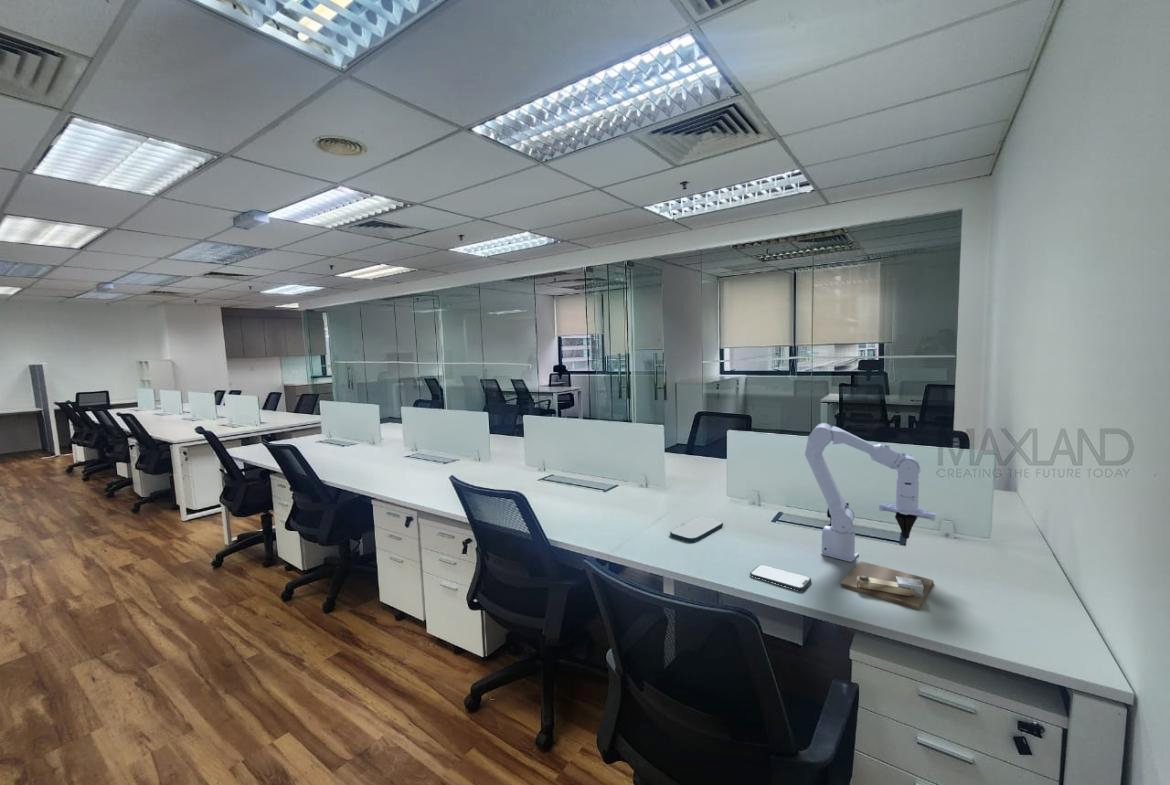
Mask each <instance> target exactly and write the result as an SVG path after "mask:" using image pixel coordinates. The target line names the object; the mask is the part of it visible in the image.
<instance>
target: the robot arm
mask: <svg viewBox="0 0 1170 785" xmlns="http://www.w3.org/2000/svg"><path fill="white" fill-rule="evenodd" d="M831 442H832V445H840V444H844V445H847V446H849V447H851V448H854V449H856V450H859V451H861V452H864V453H865V454H868V455H869V456H870V459H871V460H872V461H875V462H876V463H878V464H880V465H883V466H885V467H888V468H889V469H891V470H896V471H897V479H896V489H895V490H896V491H895V504H891V503H883V502H880V504H878V508H879V510H878V511H880V512H889V513H894V514H895V515H894V518H895V520H896V522H897V524H898V526H899V528H900V532H901V536H902V538H903V539H907V540H909V538H910V536H911V532H912V528H913V526H914V524H915V523H916V520H918V518H920V519H927V520H929V521H933V522H935V521H936V519H937V518H936V517H937V516H936V515H937V513H936V512H933V511H928V510H924V509H921V508H919V492H920V491H919V490H920V489H919V486H920V481H919V477H920V475H919V474H920V473H921V468H920V462H919V460H918V459H917V458H916V457H915V456H914V455H912V454H910V453H909V454H906V452H904V451H902V452H901V451H899V450H897V449H894V448H891V447H890V444H888V443H884V444H883V443H877V444H873V443H871V442H869V441H867V440H865V439H862V438H860V437H859V436H857V435H855V434H852V433H851V432H849V431H846V430H844V429H843V428H840V427H838V426H834V425H833V426H832V424H828V423H826V422H821V423H818V424H817V425H816V426H815V427H814V429H813V430H812V431H811V433H809V435H808V436H807V442H806V447H805V452H804V455H805V458H806V460H807V462H808V464H809V466H810V469H811V471H812V473H813V475H814V477H815V480H816V482H817V484H818V487H819V489H820V490H821V493H822V495H823V497H824V499H825V502H826V504H827V510H828V509H829V513H830V515H831V526H830V525H824V527H823V529H822V534H821V552H820V554H821V555H823V556H826V557H830V558H834V559H837V560H838V559H839V560H841V561H845V562H850V563H851V562H853V561H854V560H855V559H856V558H857V557H858V556H859V555H860V554H859V552H858V551H857V552H856V551H855V548H856V546H855V545H856V542H855V541H856V528H855V527H854V520H855V512H854V510H853V509H851V507H850V506H849V507H848V506H847V504H846V503H847V502H846V500H845V499H844V498H843V497H842V495H841V493H840V489H838V486H837V484H836V482H835V479H834V477H833V476H832V472H831V471H830V468H829V466H828V465H827V462H826V460H825V458H824V455H823V452H824V451H825V448H827V447H828V445H830V443H831Z"/></svg>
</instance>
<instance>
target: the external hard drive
mask: <svg viewBox="0 0 1170 785" xmlns="http://www.w3.org/2000/svg"><path fill="white" fill-rule="evenodd" d="M723 522H724V521H723V520H721V519H717V518H713V517H709V516H702V515H701V516H697V517H695V518H693V519H690V520H688V521H686V522H684V523H682V524H680V525H679V526H676V527H674V528H672V529H671V530H670V533H669V535H670V538H673V539H676V538H677V539H676V540H679V539H680V540H679V541H682V540H684V541H683V542H686V541H689V542H688V543H695V542H694V541H697V542H698V540H699V541H701V540H702V539H704V538H706V537H707V535H708V536H709V534H710V535H711V534H713V533H715V532H717V531H718V530H720V529H721V527H722V526H724V523H723ZM722 528H723V527H722ZM716 530H717V531H716ZM714 531H715V532H714ZM712 532H713V533H712ZM705 536H706V537H705ZM700 539H701V540H700Z"/></svg>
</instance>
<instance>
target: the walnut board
mask: <svg viewBox="0 0 1170 785" xmlns="http://www.w3.org/2000/svg"><path fill="white" fill-rule="evenodd" d="M861 575H863V576H867V577H869V578H875V579H881V580H887V581H892V582H897V581H896V576H898V577H905V578H912V579H919V580H921V582H922V584H923V587H924V590H923V598H921V597H915V596H913V593H912V588H911V596H906V595H900V594H895V593H889V592H884V591H878V590H872V589H864V588H861V587H858V586H857V577H858V576H861ZM933 585H934V579H930V578H928V577H923V576H919V575H916V574H911V573H908V572H904V571H900V570H896V569H892V568H888V567H884V566H881V565H877V564H874V563H870V562H866V561H862V560H861V561H859V563H858V564H857V565H856V566H855V567H854V568H853V569H852V570H851V571H850V573H849V574H847V576H846V577H845V578H844V579H843V580H842V581H841V582H840V587H841V586H842V588H845V589H847V590H848V589H849V590H853V591H854V592H855V591H856V592H858V593H862V594H866V595H868V596H871V597H875V598H878V599H882V600H885V601H888V602H891V603H894V604H897V605H900V606H905V607H909V608H911V609H914V610H918V611H919V609H920V608H921V606H922V605H923V602H924V601H925V599H926V597H927V595H928V593H929V592H930V590H931V588H932V586H933Z"/></svg>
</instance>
